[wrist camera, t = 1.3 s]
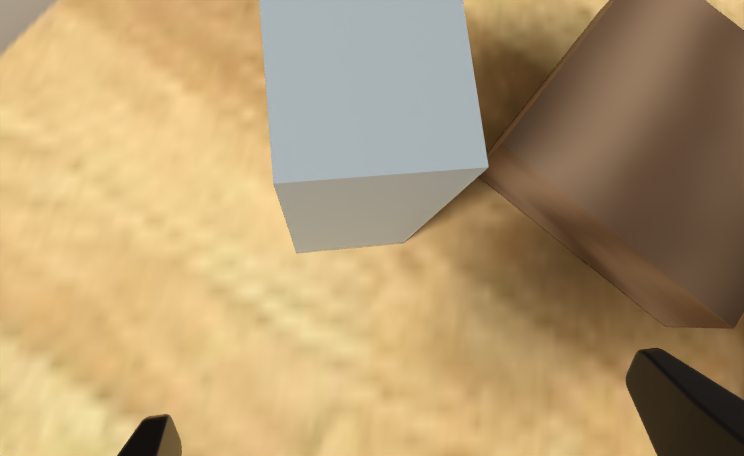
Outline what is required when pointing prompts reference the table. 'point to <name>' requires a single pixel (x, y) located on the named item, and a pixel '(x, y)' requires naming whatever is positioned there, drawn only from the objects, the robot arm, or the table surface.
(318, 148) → the slate pillar
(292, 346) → the table surface
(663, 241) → the walnut block
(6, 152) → the table surface
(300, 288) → the table surface
